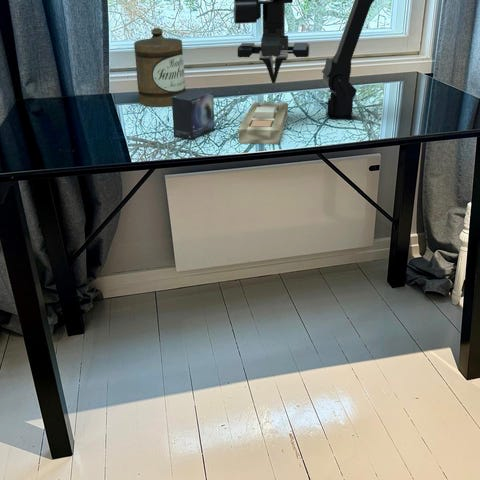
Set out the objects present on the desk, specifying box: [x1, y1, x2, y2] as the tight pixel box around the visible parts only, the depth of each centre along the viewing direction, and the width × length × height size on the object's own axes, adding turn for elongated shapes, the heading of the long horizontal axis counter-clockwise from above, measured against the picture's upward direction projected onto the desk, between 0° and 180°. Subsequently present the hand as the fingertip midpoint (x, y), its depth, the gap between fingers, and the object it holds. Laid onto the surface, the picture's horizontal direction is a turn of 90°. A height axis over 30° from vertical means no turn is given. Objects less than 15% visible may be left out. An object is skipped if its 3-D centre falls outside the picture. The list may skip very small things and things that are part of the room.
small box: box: [171, 88, 215, 140], centre depth 146 cm, size 11×6×10 cm, turn 148°
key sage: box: [260, 105, 278, 111], centre depth 156 cm, size 5×5×2 cm
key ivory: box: [254, 107, 275, 119], centre depth 149 cm, size 5×5×2 cm
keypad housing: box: [238, 101, 289, 145], centre depth 150 cm, size 10×26×4 cm, turn 171°
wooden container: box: [133, 27, 187, 108], centre depth 174 cm, size 15×15×22 cm
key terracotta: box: [251, 120, 272, 127], centre depth 143 cm, size 5×5×2 cm
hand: (273, 82), depth 153 cm, fingers closed
